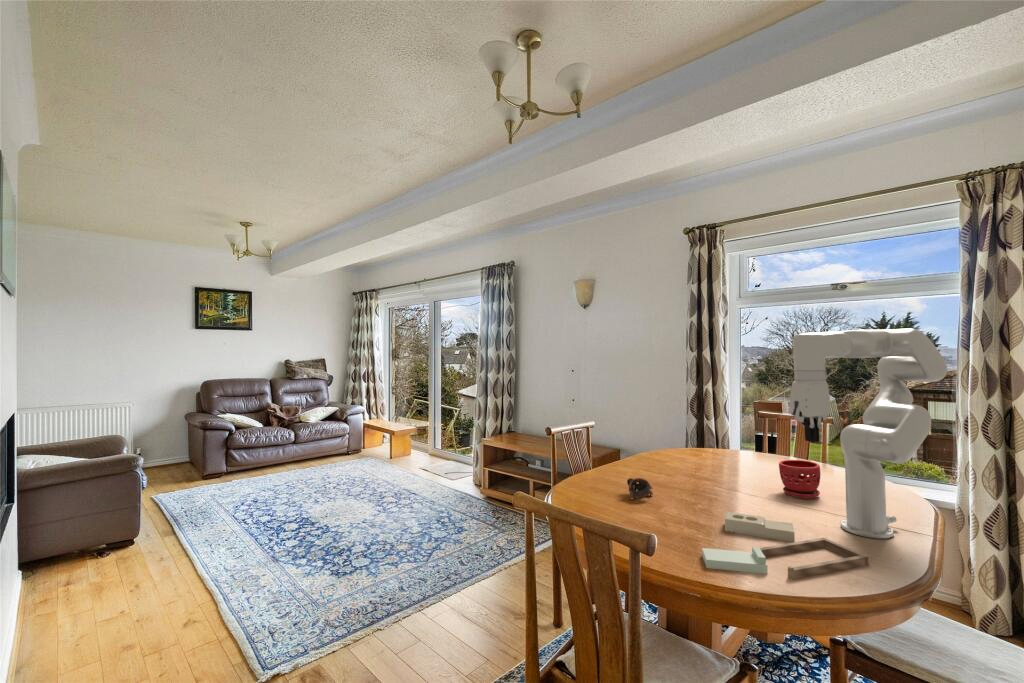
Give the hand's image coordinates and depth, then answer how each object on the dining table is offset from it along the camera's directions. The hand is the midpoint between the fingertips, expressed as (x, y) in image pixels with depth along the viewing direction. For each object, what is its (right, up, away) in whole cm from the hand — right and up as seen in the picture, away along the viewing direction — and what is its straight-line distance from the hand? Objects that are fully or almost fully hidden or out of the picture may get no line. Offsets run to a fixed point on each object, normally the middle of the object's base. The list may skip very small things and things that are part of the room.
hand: (812, 441), depth 130 cm
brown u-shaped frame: (-8, -29, -11) cm, 32 cm away
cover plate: (-28, -30, -12) cm, 43 cm away
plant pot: (+22, -29, +41) cm, 55 cm away
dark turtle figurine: (-38, -30, +42) cm, 64 cm away
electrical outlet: (-11, -30, +8) cm, 33 cm away
